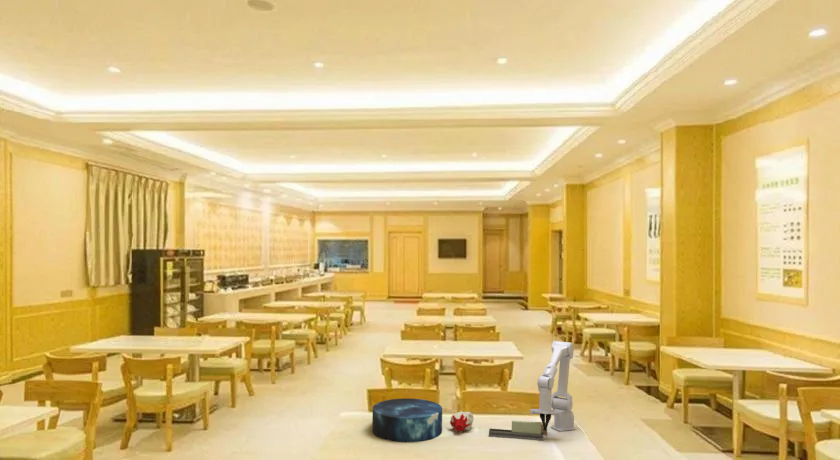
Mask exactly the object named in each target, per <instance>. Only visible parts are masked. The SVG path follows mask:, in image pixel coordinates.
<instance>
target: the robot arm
mask: <svg viewBox="0 0 840 460" xmlns="http://www.w3.org/2000/svg"><path fill="white" fill-rule="evenodd" d="M551 352H552V353H551V357H550V361H549V363H547V364H546V365H545V368H544V370H543V372H542V375H540V376H539V377H538V378H537V384H536V385H537V387H538V389H537V391H538V392H539V405H538V407H539V408H530V409H529V414H530V415H539V418H540V420H541V422H542V423H543V427H544V430H547V431H548V425H549V423H550V420H551V419H552V416H554V417H553V418H554V419H553V420H554V421H553V424H554V425H550V427H551V428H552V429H554V430H556V431H559V432H563V431H564V432H565V431H572V430H573V431H574V430H576V429H575V415H574V412H573V406H574V404H573V396H572V395H571V394H570V393H569V392H568V387H569V386H568V384H569V376H570V375H569V373H570V361H571V359H573V358H574V344H573V343H572V342H567V341H561V340H560V341H559V340H553V342H552V343H551ZM558 364H559V367H558V368H557V366H558ZM557 372H558V381H557V388H556V389H557V390H556V391H555V392H553V393H552V391H553V390H552V389H553V388H554V385H555V377H556V375H557ZM545 422H546V424H545Z"/></svg>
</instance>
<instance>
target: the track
mask: <svg viewBox="0 0 840 460" xmlns="http://www.w3.org/2000/svg"><path fill="white" fill-rule="evenodd" d="M488 437H491V438H502V439H503V438H504V439H505V438H506V439H516V440H517V439H519V440H531V441H544V435H543V432H541V434H530V433H516V432H512V429H501V428H489V430H488Z"/></svg>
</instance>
